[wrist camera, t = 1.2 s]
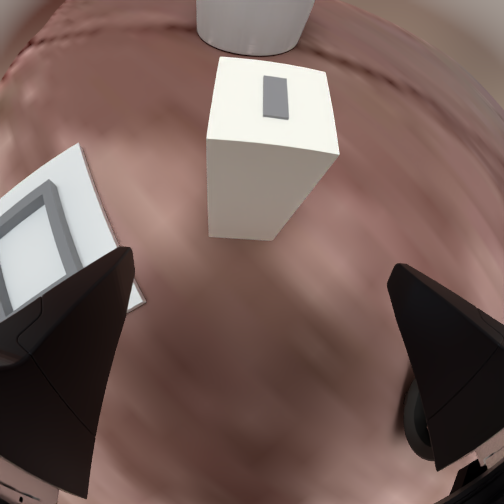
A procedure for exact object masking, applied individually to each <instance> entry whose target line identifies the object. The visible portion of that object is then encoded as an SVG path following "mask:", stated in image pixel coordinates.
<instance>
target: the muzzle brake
mask: <svg viewBox="0 0 504 504" xmlns="http://www.w3.org/2000/svg"><path fill="white" fill-rule="evenodd" d="M403 404H404V405H405V408H404V429H405V435H406V438H407V440H408V443H409V445H410V447H411V448H412V450H413V451H414V452H415V453H416V454H417V455H418V456H419V457H421V458H422V459H425V460H428V461H434V455H433V450H432V444H431V440H430V435H429V430H428V429H427V420H426V416H425V412H424V408H423V404H422V400H421V397H420V393H419V389H418V386H417V382H416V379H414V380H413V382H412V384H411V386H410V389H409V391H408V392H406V395H405V399H404V403H403Z"/></svg>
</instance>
